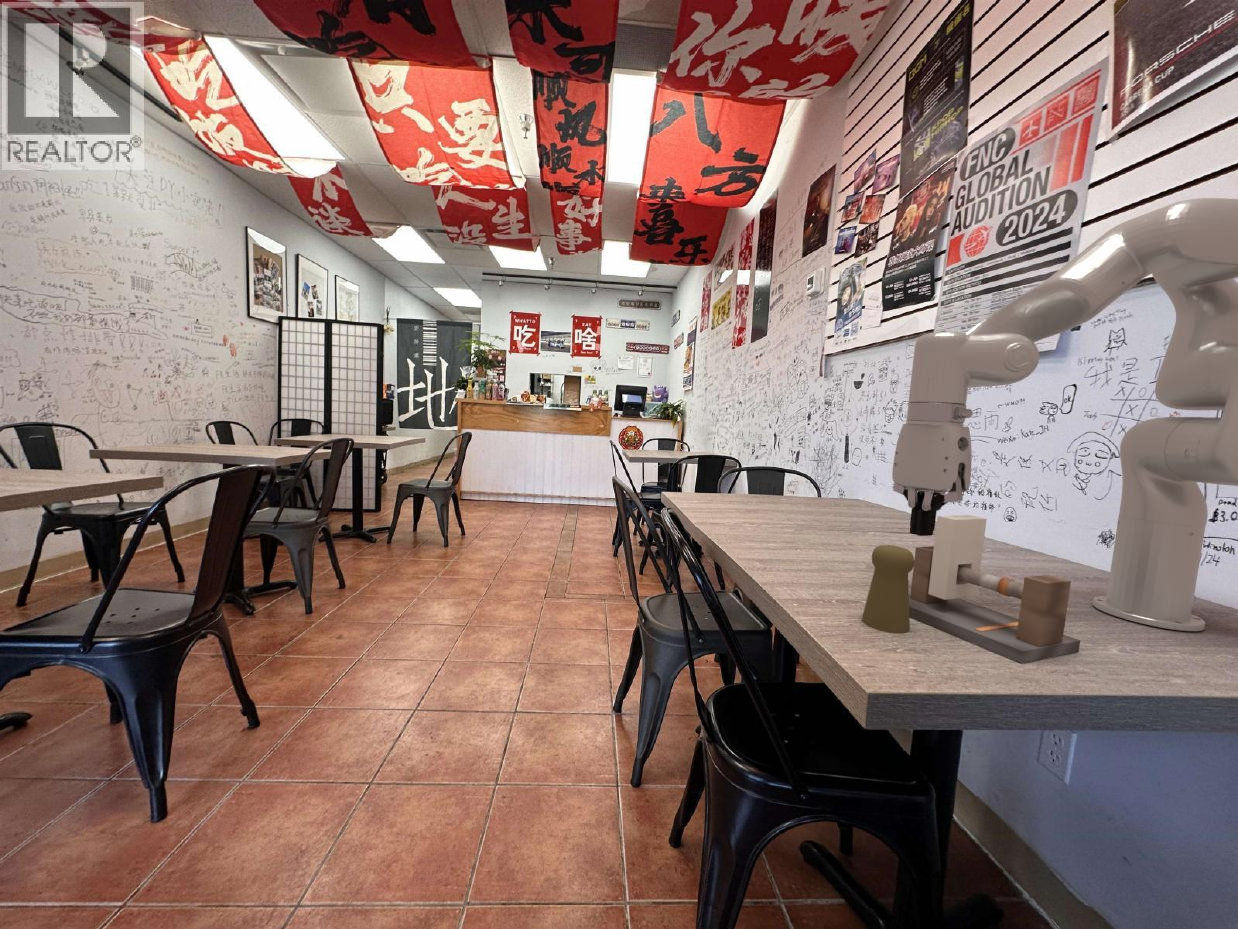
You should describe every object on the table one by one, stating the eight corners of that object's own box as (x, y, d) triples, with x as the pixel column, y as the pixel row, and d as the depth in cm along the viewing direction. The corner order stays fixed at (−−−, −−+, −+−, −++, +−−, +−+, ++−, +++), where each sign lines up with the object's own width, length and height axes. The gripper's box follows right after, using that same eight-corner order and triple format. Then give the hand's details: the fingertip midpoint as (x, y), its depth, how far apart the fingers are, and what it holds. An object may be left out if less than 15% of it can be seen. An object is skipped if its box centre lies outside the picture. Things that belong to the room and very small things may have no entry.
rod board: (944, 603, 84) (951, 544, 83) (1078, 651, 67) (1089, 579, 67) (891, 609, 79) (898, 547, 78) (1021, 663, 63) (1031, 586, 62)
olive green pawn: (914, 636, 69) (924, 554, 68) (864, 628, 71) (872, 548, 70) (905, 620, 75) (914, 545, 74) (859, 613, 77) (867, 539, 76)
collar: (959, 590, 79) (969, 515, 78) (976, 596, 77) (986, 518, 76) (928, 594, 76) (937, 516, 75) (944, 599, 74) (954, 519, 73)
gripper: (1002, 419, 74) (986, 545, 76) (908, 416, 88) (896, 524, 90) (967, 415, 71) (951, 547, 73) (875, 413, 85) (864, 525, 87)
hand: (921, 534), depth 81 cm, fingers closed
